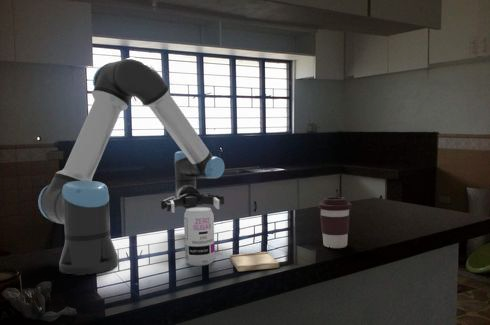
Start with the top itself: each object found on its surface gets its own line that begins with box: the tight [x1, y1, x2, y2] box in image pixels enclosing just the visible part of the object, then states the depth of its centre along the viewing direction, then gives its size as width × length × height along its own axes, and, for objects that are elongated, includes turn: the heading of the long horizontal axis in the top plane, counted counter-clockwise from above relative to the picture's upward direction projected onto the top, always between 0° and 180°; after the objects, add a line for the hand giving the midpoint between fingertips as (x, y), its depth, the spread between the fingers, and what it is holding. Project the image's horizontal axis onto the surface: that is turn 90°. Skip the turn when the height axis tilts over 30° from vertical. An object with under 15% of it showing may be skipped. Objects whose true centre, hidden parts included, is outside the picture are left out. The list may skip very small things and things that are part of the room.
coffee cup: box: [318, 196, 352, 249], centre depth 130 cm, size 10×10×15 cm
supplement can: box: [183, 206, 216, 267], centre depth 117 cm, size 8×8×15 cm
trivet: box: [229, 251, 280, 272], centre depth 114 cm, size 11×11×1 cm
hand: (195, 206), depth 126 cm, fingers open, 13 cm apart
